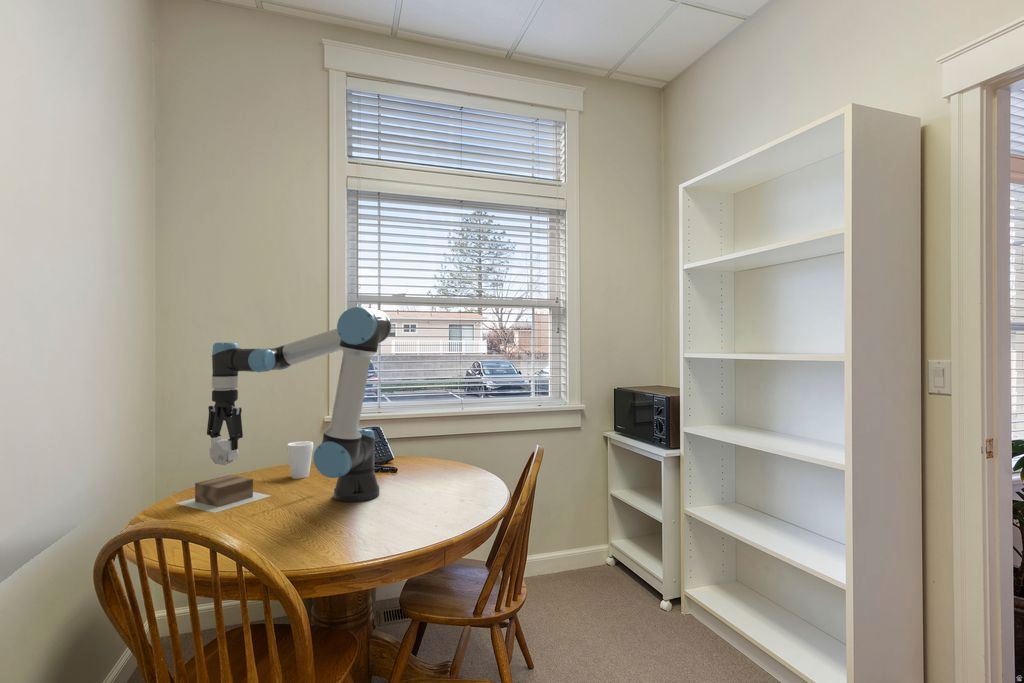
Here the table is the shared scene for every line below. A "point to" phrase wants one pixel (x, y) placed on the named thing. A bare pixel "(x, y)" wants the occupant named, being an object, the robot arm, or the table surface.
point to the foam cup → (300, 458)
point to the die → (220, 452)
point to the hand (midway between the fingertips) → (224, 458)
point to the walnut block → (223, 490)
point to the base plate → (216, 509)
